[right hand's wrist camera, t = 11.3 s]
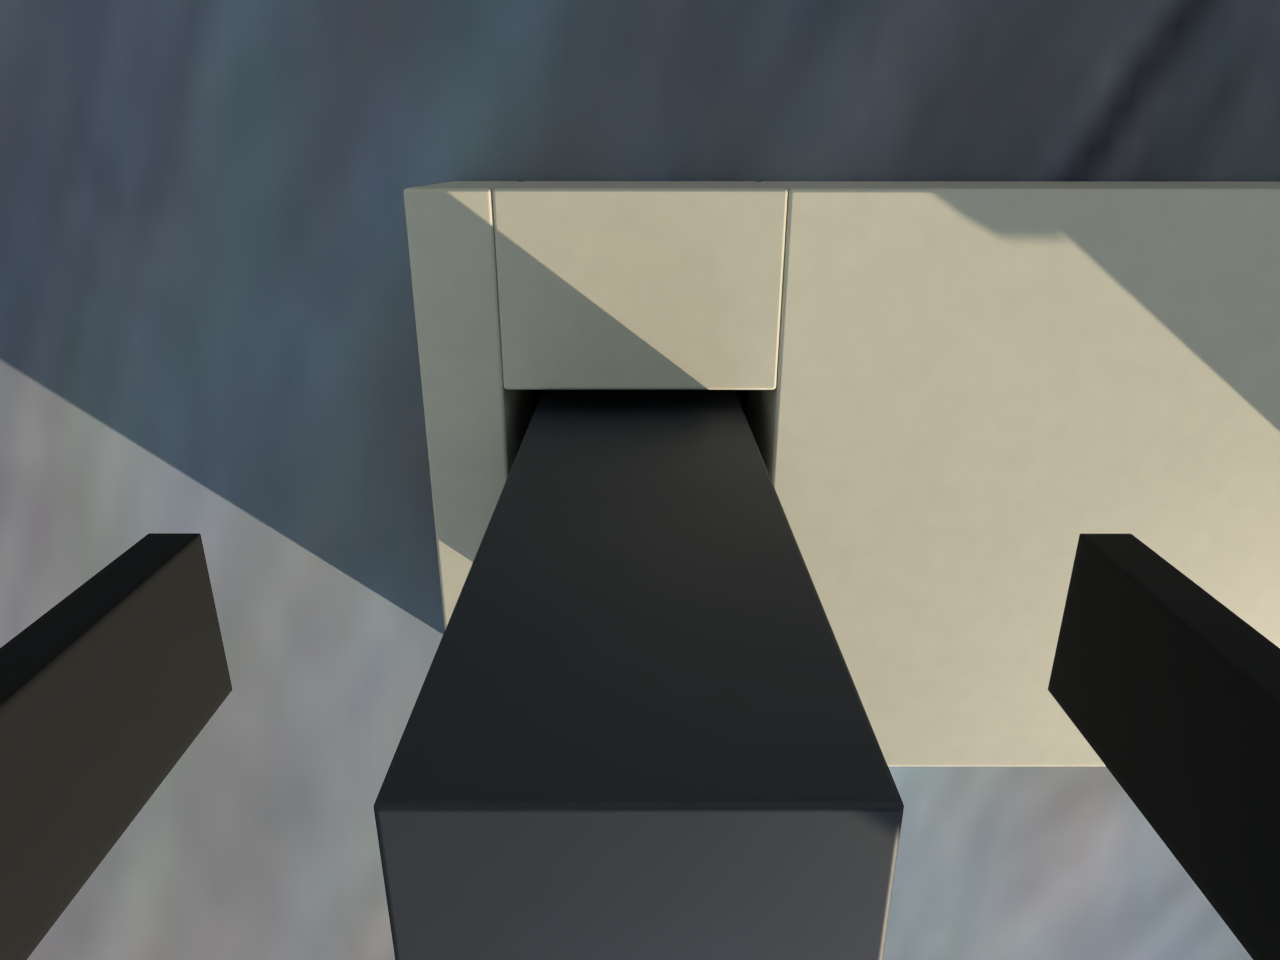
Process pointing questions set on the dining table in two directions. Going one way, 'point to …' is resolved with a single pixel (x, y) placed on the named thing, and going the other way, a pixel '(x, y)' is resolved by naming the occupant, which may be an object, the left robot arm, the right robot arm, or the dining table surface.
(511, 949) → the peg
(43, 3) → the dining table surface
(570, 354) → the peg board
